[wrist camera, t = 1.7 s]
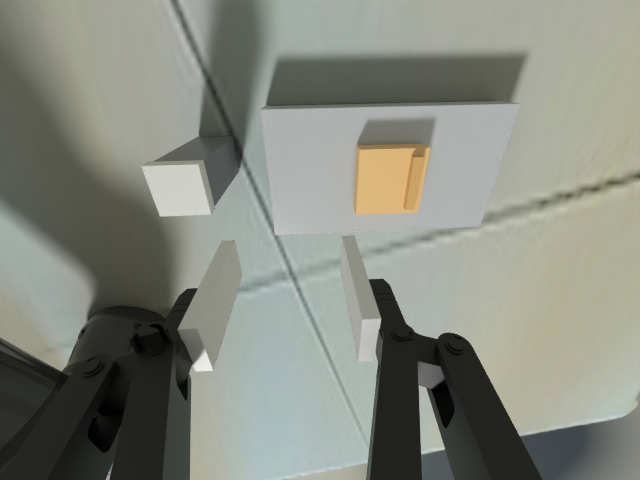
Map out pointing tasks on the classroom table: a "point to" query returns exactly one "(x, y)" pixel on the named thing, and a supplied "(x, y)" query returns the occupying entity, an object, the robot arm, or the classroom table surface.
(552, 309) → the classroom table surface
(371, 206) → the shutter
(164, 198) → the plug
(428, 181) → the socket board
